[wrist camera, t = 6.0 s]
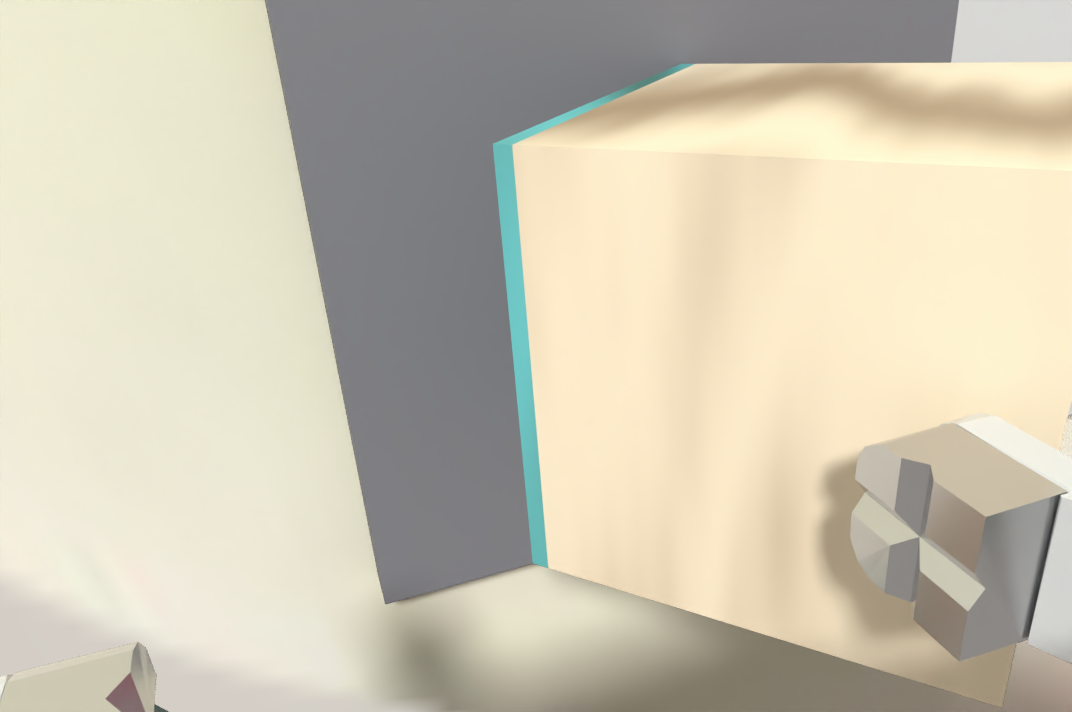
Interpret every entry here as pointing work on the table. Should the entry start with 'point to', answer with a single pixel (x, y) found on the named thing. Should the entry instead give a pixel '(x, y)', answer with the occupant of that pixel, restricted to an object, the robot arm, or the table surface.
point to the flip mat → (473, 212)
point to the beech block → (780, 324)
